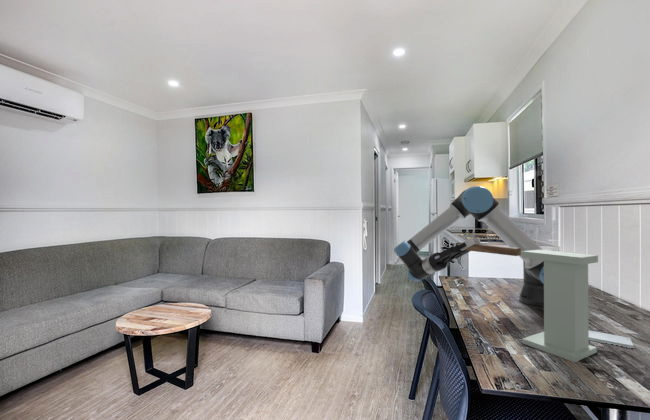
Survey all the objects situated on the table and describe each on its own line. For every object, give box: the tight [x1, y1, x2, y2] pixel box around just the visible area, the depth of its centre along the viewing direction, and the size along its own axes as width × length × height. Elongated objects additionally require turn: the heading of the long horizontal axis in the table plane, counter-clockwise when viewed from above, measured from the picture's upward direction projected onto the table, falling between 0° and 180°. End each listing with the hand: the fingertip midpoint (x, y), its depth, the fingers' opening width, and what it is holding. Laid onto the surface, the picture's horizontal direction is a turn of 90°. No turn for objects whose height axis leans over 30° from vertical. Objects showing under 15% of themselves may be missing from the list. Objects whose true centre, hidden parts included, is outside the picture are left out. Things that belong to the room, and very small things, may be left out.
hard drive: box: [589, 329, 635, 350], centre depth 101 cm, size 2×8×12 cm
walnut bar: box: [455, 242, 521, 257], centre depth 115 cm, size 3×24×2 cm, turn 28°
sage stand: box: [522, 249, 599, 363], centre depth 94 cm, size 13×16×29 cm
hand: (476, 240), depth 119 cm, fingers closed on walnut bar, 3 cm apart
